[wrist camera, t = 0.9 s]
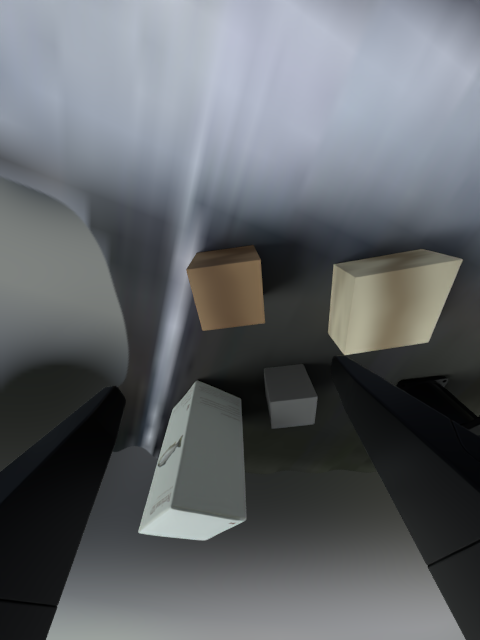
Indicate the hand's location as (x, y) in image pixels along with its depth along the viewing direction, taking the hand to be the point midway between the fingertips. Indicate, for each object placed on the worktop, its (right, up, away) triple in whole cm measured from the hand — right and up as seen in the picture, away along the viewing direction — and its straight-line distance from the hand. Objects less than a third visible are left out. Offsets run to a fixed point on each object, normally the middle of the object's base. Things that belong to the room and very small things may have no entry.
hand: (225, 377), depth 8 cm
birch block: (+14, +5, +12) cm, 19 cm away
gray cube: (+6, -5, +18) cm, 20 cm away
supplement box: (-4, -9, +20) cm, 23 cm away
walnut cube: (0, +7, +11) cm, 12 cm away
